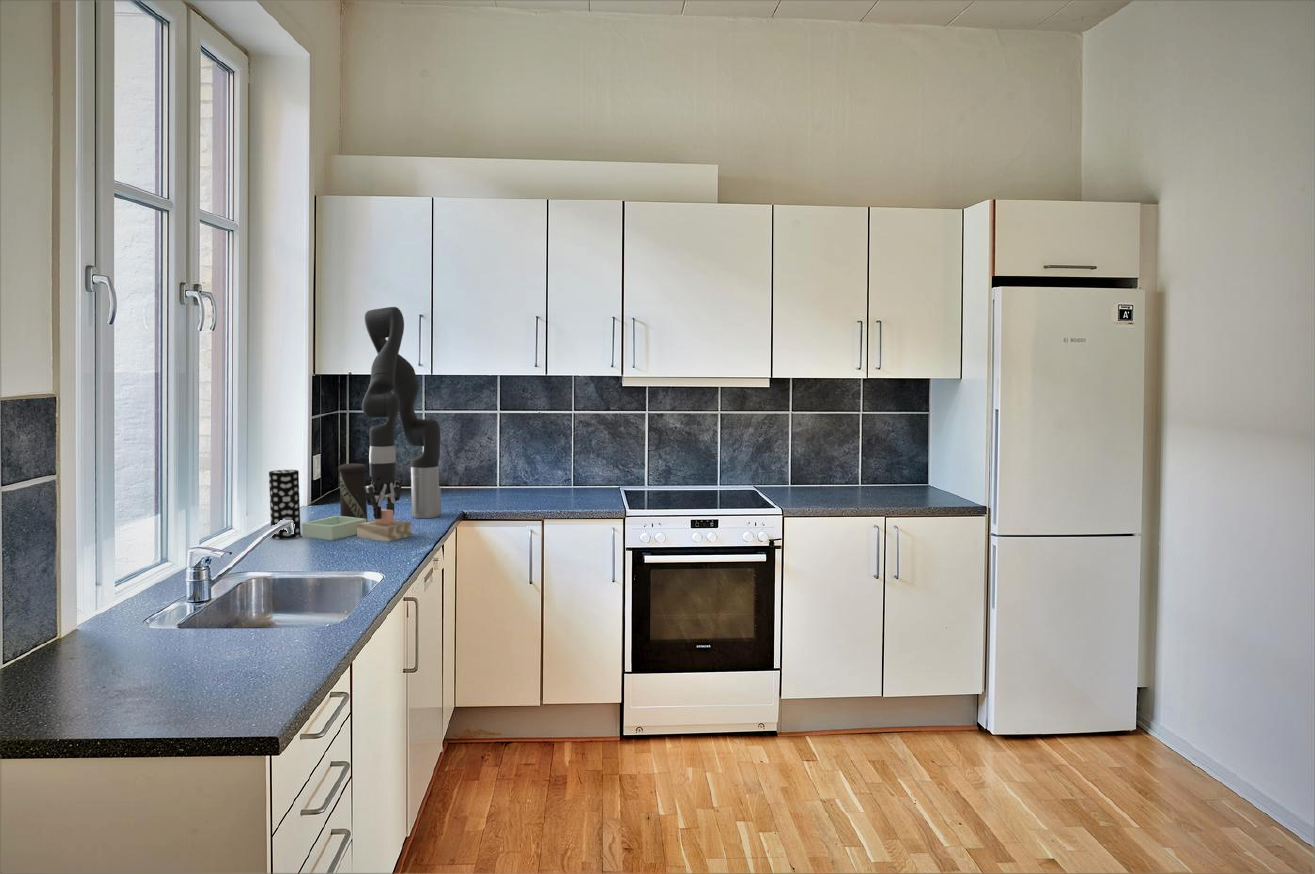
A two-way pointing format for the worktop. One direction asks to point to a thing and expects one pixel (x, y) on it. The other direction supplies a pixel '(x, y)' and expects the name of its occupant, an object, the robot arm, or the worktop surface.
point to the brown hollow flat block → (384, 530)
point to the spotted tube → (285, 500)
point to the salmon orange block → (386, 517)
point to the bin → (331, 527)
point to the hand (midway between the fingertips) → (384, 517)
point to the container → (353, 490)
